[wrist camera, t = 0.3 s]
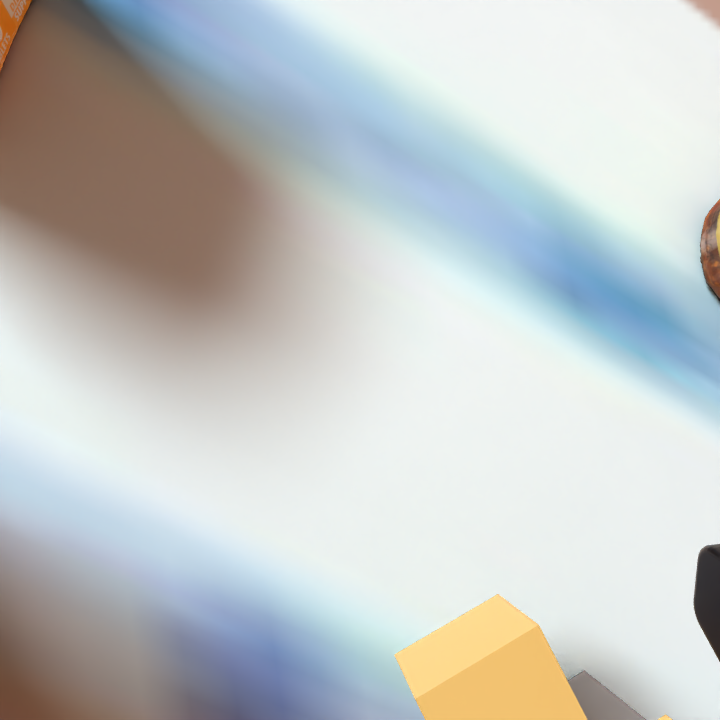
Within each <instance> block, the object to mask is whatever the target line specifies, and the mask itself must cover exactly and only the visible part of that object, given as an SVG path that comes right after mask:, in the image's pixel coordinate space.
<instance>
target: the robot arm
mask: <svg viewBox="0 0 720 720" xmlns="http://www.w3.org/2000/svg"><path fill="white" fill-rule="evenodd" d="M694 610H695V614H696V617H697V620H698V622H699V625H700V627H701V628H702V630H703V632H704V634H705V636H706V638H707V639H708V641H709V643H710V645H711V647H712V648H713V650H714V652H715V654H716V656H717V658H718V659H719V661H720V544H716V545H708V546H705V547H704V548H702V549H701V551H700V553H699V556H698V562H697V572H696V582H695V592H694Z"/></svg>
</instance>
